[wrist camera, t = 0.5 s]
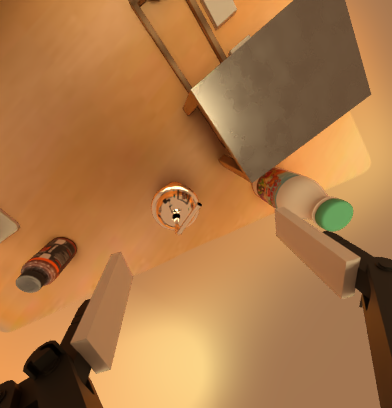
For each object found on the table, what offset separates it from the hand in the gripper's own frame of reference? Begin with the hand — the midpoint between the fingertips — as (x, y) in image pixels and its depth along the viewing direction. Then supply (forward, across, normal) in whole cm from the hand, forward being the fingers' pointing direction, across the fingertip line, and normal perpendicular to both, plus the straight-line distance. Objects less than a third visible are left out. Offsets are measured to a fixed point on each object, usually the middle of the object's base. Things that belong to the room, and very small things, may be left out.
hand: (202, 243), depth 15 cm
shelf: (+27, +15, +10) cm, 32 cm away
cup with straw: (+27, -2, -4) cm, 27 cm away
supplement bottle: (+27, -31, -10) cm, 42 cm away
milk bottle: (+27, +19, -7) cm, 34 cm away
